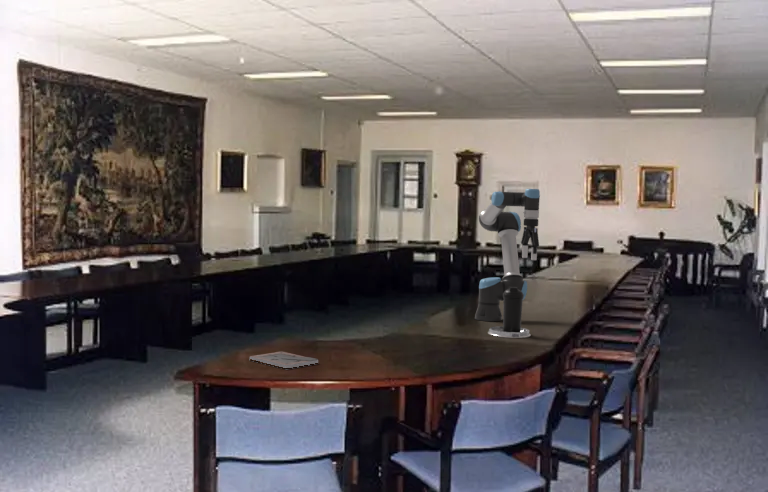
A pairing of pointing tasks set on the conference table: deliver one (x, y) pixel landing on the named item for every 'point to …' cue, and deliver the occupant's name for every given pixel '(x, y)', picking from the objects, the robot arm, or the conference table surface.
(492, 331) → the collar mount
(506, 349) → the conference table surface
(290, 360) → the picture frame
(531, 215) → the robot arm
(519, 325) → the water bottle
